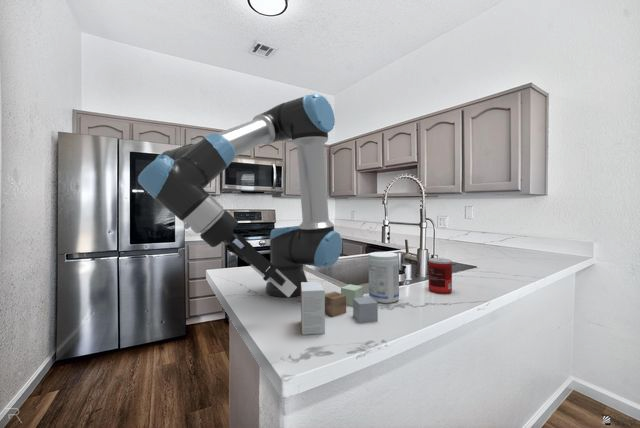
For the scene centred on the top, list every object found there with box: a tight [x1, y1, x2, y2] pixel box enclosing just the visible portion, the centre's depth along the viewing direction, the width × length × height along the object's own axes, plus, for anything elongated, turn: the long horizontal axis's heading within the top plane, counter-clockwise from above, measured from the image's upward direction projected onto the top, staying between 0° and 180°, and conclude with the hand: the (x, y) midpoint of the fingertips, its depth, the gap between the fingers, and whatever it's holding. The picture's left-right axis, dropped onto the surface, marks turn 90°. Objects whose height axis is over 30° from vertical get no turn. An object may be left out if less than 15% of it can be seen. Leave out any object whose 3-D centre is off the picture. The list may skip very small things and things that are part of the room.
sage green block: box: [340, 283, 364, 307], centre depth 87 cm, size 5×5×5 cm
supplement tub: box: [367, 251, 400, 304], centre depth 91 cm, size 10×10×15 cm
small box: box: [300, 281, 326, 336], centre depth 70 cm, size 8×6×10 cm
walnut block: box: [325, 291, 347, 318], centre depth 80 cm, size 5×5×5 cm
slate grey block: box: [352, 296, 379, 324], centre depth 75 cm, size 5×5×5 cm
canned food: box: [427, 257, 453, 295], centre depth 99 cm, size 8×8×11 cm
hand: (281, 284), depth 65 cm, fingers open, 13 cm apart
